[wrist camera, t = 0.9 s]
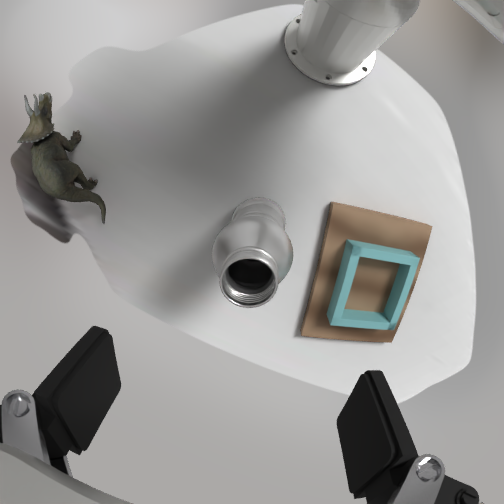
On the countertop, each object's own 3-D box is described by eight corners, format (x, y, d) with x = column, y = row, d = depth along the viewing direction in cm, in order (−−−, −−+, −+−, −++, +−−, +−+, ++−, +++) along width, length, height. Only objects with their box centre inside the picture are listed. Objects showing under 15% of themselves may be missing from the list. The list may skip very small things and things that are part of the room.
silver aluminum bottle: (288, 238, 37) (309, 317, 18) (239, 247, 37) (211, 332, 18) (279, 190, 35) (294, 222, 16) (228, 200, 35) (183, 244, 16)
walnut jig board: (331, 201, 35) (339, 206, 30) (427, 224, 35) (443, 231, 30) (300, 330, 41) (303, 347, 37) (388, 337, 41) (397, 353, 37)
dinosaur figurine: (122, 215, 37) (78, 234, 26) (86, 236, 38) (41, 260, 28) (78, 95, 31) (32, 85, 20) (46, 124, 32) (0, 123, 22)
